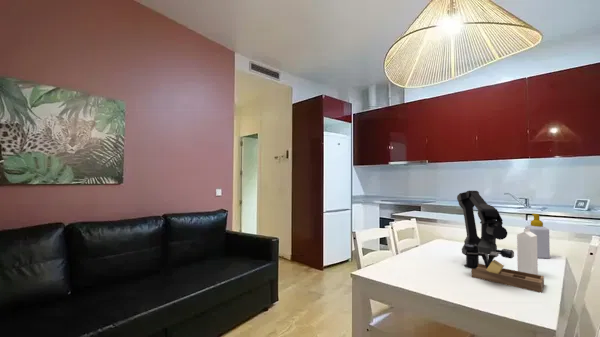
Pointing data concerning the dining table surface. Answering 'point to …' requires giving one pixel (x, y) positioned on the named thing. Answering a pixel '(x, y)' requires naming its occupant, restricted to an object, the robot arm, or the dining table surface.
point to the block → (495, 267)
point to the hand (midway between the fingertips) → (487, 268)
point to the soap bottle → (540, 237)
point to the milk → (527, 252)
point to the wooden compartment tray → (511, 278)
